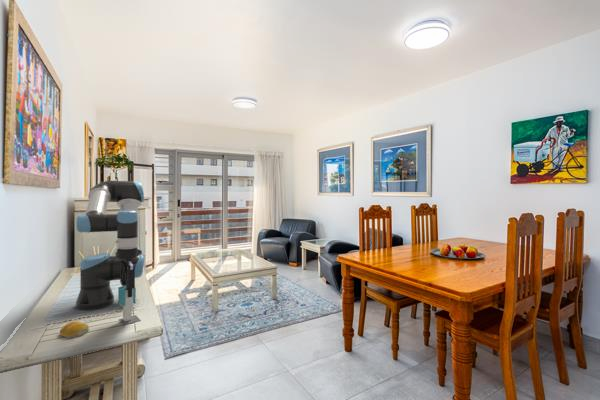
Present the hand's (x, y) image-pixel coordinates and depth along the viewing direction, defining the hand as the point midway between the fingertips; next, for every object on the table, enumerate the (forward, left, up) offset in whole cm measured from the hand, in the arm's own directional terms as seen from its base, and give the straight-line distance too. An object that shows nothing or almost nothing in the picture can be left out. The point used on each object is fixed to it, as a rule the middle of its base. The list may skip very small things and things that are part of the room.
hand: (127, 302), depth 126 cm
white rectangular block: (0, 0, -8) cm, 8 cm away
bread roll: (-1, -18, -8) cm, 20 cm away
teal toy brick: (0, 0, 0) cm, 0 cm away
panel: (+1, +1, -8) cm, 8 cm away
